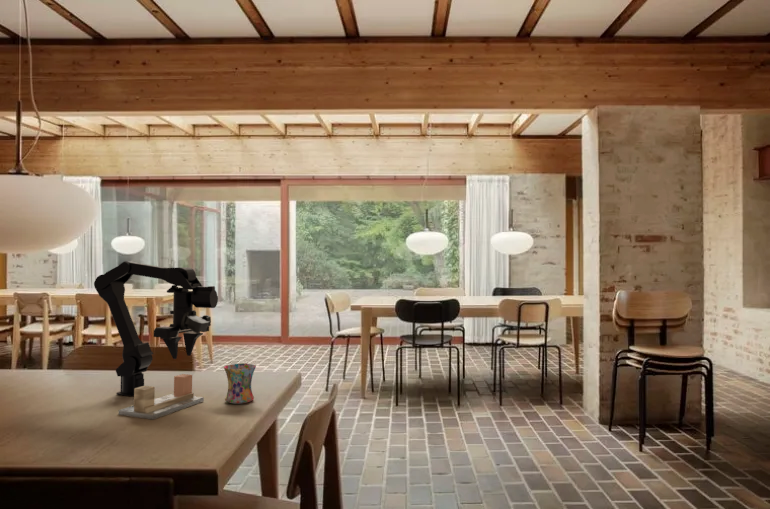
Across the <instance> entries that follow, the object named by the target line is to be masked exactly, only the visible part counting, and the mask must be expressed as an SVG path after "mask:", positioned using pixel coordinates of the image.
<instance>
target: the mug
mask: <svg viewBox="0 0 770 509" xmlns="http://www.w3.org/2000/svg"><path fill="white" fill-rule="evenodd" d="M256 368H257V366H256V364H254V363H231V364H226V365H225V366H224V367H223V370H224V371H225V375H226V378H227V384H228V386H227V392H226V396H225V398H224V400H225V402H226V403H227V404H228V403H229V404H232V405H240V404H247V403H249V402H252V401H253V400H254V399H255V397H254V394H253V390H252V380H253V375H254V372H255V370H256Z"/></svg>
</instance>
